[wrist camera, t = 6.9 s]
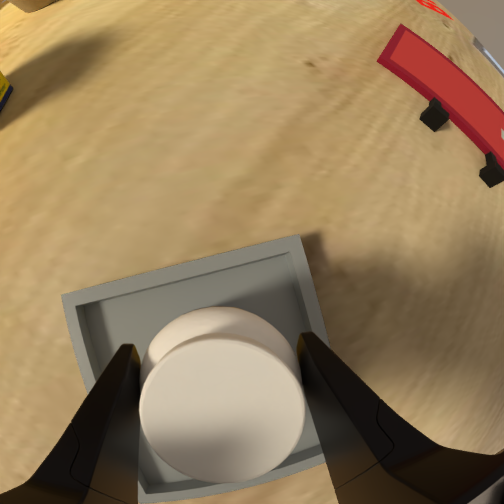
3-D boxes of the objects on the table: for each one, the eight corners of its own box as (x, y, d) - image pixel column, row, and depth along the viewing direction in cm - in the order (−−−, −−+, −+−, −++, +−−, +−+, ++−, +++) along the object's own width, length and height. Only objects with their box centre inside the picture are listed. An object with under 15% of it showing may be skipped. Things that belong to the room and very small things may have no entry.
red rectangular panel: (542, 260, 23) (543, 175, 26) (558, 256, 20) (555, 169, 23) (362, 82, 22) (396, 30, 26) (375, 63, 20) (405, 16, 23)
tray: (342, 439, 17) (353, 450, 15) (144, 489, 14) (139, 503, 12) (290, 240, 18) (299, 233, 17) (74, 295, 16) (60, 294, 14)
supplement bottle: (223, 285, 16) (238, 256, 7) (286, 357, 16) (375, 414, 6) (148, 347, 15) (70, 396, 6) (214, 418, 15) (220, 530, 5)
